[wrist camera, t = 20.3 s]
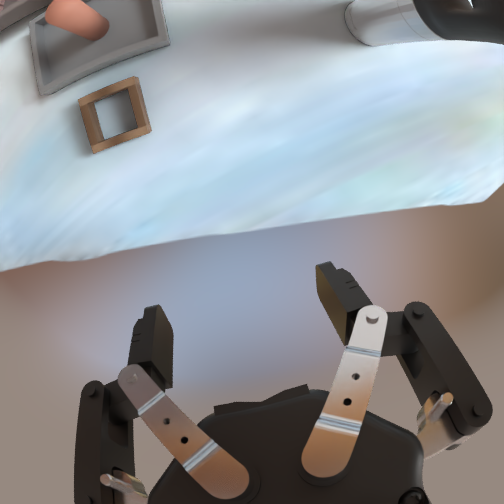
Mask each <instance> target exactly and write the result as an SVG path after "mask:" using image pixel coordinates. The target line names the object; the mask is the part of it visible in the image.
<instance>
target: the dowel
mask: <svg viewBox="0 0 504 504" xmlns="http://www.w3.org/2000/svg"><path fill="white" fill-rule="evenodd" d="M45 20H46V22H47V23H49V24H51V25H54V26H56V27H59V28H62V29H64V30H67V31H69V32H72V33H74V34H77V35H79V36H81V37H84V38H86V39H88V40H91V41H95V40H99V39H101V38H102V37H103V36H105V34H106V33H107V32H108V30H109V21H108V20H107V19H106V18H104V17H103V16H102V15H100V14H99V13H98V12H96V11H95V10H94V9H92V8H91V7H89V6H88V5H87V4H85V3H84V2H82V1H81V0H53V1H52V2H51V4H50V5H49V6H48V8H47V10H46V13H45Z"/></svg>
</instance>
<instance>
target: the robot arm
mask: <svg viewBox="0 0 504 504" xmlns="http://www.w3.org/2000/svg"><path fill="white" fill-rule="evenodd" d="M471 1H472V5H473V8H472V6H471V4H470V3H469V1H468V0H356V1H353V2H352V3H350V4H349V5H348V7H347V8H346V11H345V21H346V24H347V26H348V28H349V30H350V32H351V33H352V34H353V35H354V36H355V37H356V38H357V39H358V40H359V41H361V42H362V43H364V44H366V45H370V46H381V45H389V44H398V43H408V42H420V41H437V40H465V41H480V42H490V43H497V44H503V45H504V0H471ZM316 284H317V293H318V296H319V299H320V301H321V303H322V304H323V306H324V308H325V310H326V312H327V314H328V316H329V318H330V320H331V321H332V323H333V325H334V327H335V329H336V331H337V333H338V335H339V337H340V338H341V341H342V342H343V344H344V346H346V345H348V347H346V349H345V351H344V354H343V357H342V360H341V363H340V366H339V369H338V371H337V375H336V377H335V380H334V383H333V385H332V388H331V390H330V392H328V391H324V390H314V389H313V390H309V389H308V386H307V384H305V385H301V386H298V387H295V388H291V389H287V390H284V391H282V392H280V393H278V394H276V395H274V396H272V397H270V398H268V399H266V400H264V401H262V402H233V403H229V404H223V405H218V406H214V413H213V414H210V415H209V416H207V417H205V418H204V419H203V420H202V421H200V422H199V423H198V424H197V425H196V424H195V423H193V422H192V421H191V420H190V419H189V418H188V417H187V416H186V415H185V414H184V413H183V412H182V411H181V410H180V409H179V408H178V407H177V406H176V405H175V404H174V403H173V402H172V401H171V399H170V398H169V397H168V396H167V395H166V394H165V389H169V388H172V386H173V385H172V384H173V381H172V380H173V378H172V377H173V374H172V373H173V330H172V327H171V324H170V322H169V321H168V319H167V317H166V315H165V313H164V311H163V309H162V308H161V306H160V305H154V306H150V307H146V308H145V309H144V316H143V318H142V319H138V321H137V322H136V324H135V326H134V328H133V337H132V340H131V342H132V343H131V346H130V352H129V358H128V365H127V366H126V367H125V368H123V369H122V370H121V372H120V373H119V375H118V379H117V380H115V381H113V382H110V383H108V384H106V385H103V384H102V383H101V382H100V381H91V382H89V383H87V384H86V385H85V386H84V388H83V390H82V392H81V398H80V406H79V414H78V423H77V433H76V445H75V464H74V502H75V504H432V503H431V502H430V500H429V498H428V496H427V495H426V493H425V490H424V487H423V481H422V468H423V461H424V460H426V459H428V458H430V457H432V456H434V455H436V454H438V453H439V452H441V451H443V450H452V449H455V448H457V447H458V446H459V445H461V444H462V443H463V442H464V441H466V440H467V439H468V438H470V437H471V436H472V435H473V434H475V433H476V432H477V431H478V430H480V429H481V428H482V427H483V426H484V425H485V424H486V423H488V421H489V420H490V418H491V416H492V411H493V409H492V404H491V402H490V400H489V398H488V397H487V394H486V393H485V391H484V389H483V387H482V386H481V384H480V382H479V381H478V379H477V377H476V376H475V374H474V372H473V371H472V369H471V367H470V366H469V364H468V363H467V361H466V360H465V358H464V356H463V355H462V353H461V352H460V351H459V349H458V347H457V346H456V344H455V343H454V341H453V340H452V338H451V337H450V335H449V334H448V332H447V331H446V330H445V328H444V327H443V325H442V324H441V323H440V321H439V320H438V318H437V317H436V316H435V314H434V313H433V312H432V310H431V309H430V308H429V306H427V305H426V304H425V303H422V302H411V303H409V304H407V306H406V307H405V309H404V311H400V312H385V310H384V309H382V308H381V307H379V306H375V305H373V304H372V302H371V301H370V299H369V298H368V297H367V295H366V294H365V293H364V291H363V290H362V288H361V287H360V286H359V284H358V283H357V281H355V279H354V277H353V276H352V275H351V273H349V272H348V271H346V270H344V269H343V268H341V269H338V270H336V268H335V267H334V266H333V264H332V263H331V262H330V261H329V262H325V263H322V264H318V265H316ZM393 355H396V356H397V358H398V360H399V362H400V364H401V366H402V368H403V370H404V372H405V374H406V376H407V377H408V379H409V381H410V383H411V385H412V387H413V389H414V392H415V393H416V395H417V398H418V400H419V402H420V404H421V406H422V408H421V409H420V411H419V412H418V415H417V424H418V433H417V436H416V435H414V434H413V433H412V432H410V431H409V430H406V429H404V428H402V427H400V426H398V425H396V424H394V423H391V422H389V421H387V420H385V419H383V418H381V417H379V416H377V415H375V414H373V413H371V412H369V411H367V410H366V409H367V406H368V402H369V399H370V396H371V392H372V388H373V385H374V381H375V377H376V373H377V369H378V365H379V360H380V357H383V356H393ZM137 417H141V418H142V420H143V421H144V422H145V423H146V425H147V426H148V427H149V428H150V430H151V431H152V432H153V433H154V434H155V436H156V437H157V438H158V439H159V440H160V442H161V443H162V444H163V445H164V446H165V447H166V448H167V449H168V451H169V452H170V453H171V454H172V455H173V456H174V457H175V458H174V459H173V461H172V462H171V463H170V465H169V467H168V468H167V469H166V471H165V472H164V473H163V475H162V476H161V478H160V479H159V480H158V482H157V483H156V485H155V486H154V487H153V489H152V491H151V492H150V494H149V496H148V495H147V493H146V491H145V487H144V485H143V483H142V482H141V481H140V480H139V479H138V478H136V477H135V466H134V465H135V464H134V443H133V419H135V418H137Z"/></svg>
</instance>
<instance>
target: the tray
mask: <svg viewBox="0 0 504 504" xmlns="http://www.w3.org/2000/svg"><path fill="white" fill-rule="evenodd" d="M81 1H82V2H84V3H85V4H87V5H88V6H89V7H91V8H92V9H94V10H95V11H96V12H98V13H99V14H100V15H102V16H103V17H104V18H106V19H107V20H108V21H109V30H108V32H107V33H106V34H105V36H103V37H102V38H101V39H99V40H95V41H91V40H88V39H86V38H84V37H81V36H79V35H77V34H74V33H72V32H69V31H67V30H64V29H62V28H59V27H56V26H54V25H51V24H49V23H47V22H46V20H45V13H46V11H45V12H43V13H42V14H40V15H39V16H37V17H35V18H34V19H32V20H31V21H29V27H30V38H31V47H32V54H33V61H34V67H35V73H36V79H37V84H38V89H39V93H40V95H46V94H53V93H55V92H56V91H58V90H60V89H62V88H64V87H66V86H68V85H70V84H71V83H73V82H75V81H77V80H79V79H82V78H84V77H86V76H88V75H90V74H92V73H94V72H97V71H99V70H101V69H103V68H106V67H108V66H111V65H113V64H116V63H118V62H121V61H123V60H126V59H129V58H131V57H134V56H137V55H140V54H143V53H146V52H149V51H152V50H155V49H158V48H162V47H165V46H169V45H170V40H169V36H168V31H167V26H166V21H165V17H164V12H163V7H162V2H161V0H81Z"/></svg>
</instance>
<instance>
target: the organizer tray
mask: <svg viewBox="0 0 504 504" xmlns="http://www.w3.org/2000/svg"><path fill="white" fill-rule="evenodd" d="M52 1H53V0H0V31H2V30H3V29H5V28H7V27H8V26H10V25H12V24H13V23H15V22H17V21H18V20H20V19H22V18H24V17H26V16H27V15H29V14H31V13H33V12H35V11H37V10H39V9H41V8H43V7H45V6H47V5H49V4H51V2H52Z"/></svg>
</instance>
